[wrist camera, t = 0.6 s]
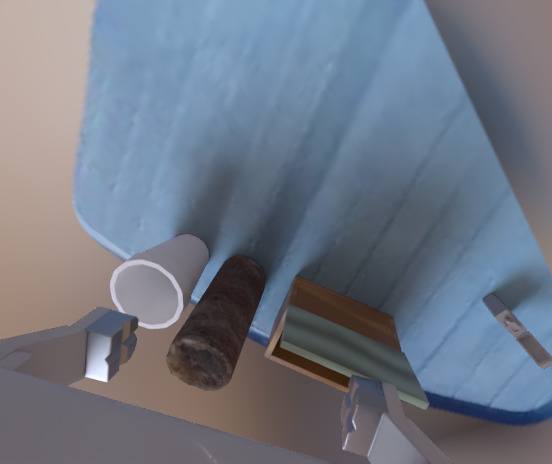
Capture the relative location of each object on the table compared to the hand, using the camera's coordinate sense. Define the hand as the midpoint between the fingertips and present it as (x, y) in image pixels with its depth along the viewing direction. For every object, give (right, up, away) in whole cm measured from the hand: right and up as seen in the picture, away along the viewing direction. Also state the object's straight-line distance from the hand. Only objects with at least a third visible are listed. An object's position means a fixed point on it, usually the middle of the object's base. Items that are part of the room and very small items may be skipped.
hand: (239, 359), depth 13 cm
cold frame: (+10, -9, +41) cm, 43 cm away
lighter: (+33, -7, +36) cm, 49 cm away
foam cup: (-12, +1, +41) cm, 43 cm away
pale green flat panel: (+9, -9, +26) cm, 29 cm away
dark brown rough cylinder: (-4, -2, +41) cm, 41 cm away
